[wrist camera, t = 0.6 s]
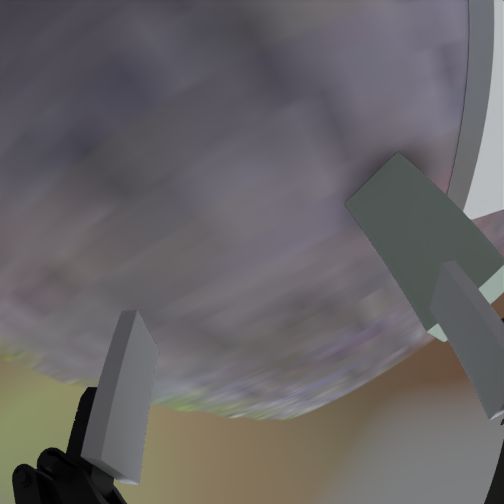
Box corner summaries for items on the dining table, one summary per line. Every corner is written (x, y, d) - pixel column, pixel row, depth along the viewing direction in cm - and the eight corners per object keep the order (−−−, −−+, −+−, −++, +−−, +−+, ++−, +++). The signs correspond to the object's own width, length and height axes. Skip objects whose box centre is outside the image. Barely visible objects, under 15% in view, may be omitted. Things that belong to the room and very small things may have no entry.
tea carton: (343, 203, 27) (426, 331, 17) (397, 151, 25) (506, 261, 15) (370, 227, 30) (444, 342, 20) (419, 181, 27) (510, 285, 17)
